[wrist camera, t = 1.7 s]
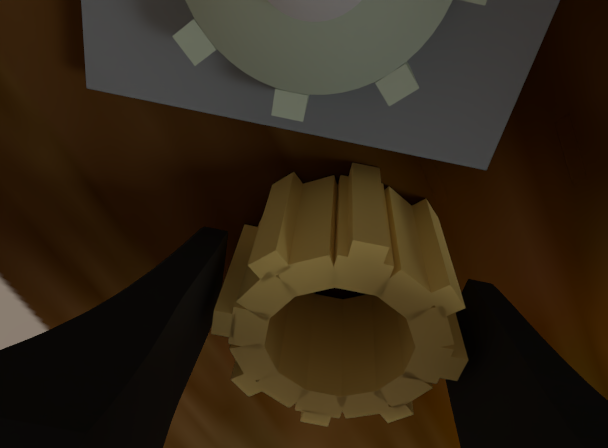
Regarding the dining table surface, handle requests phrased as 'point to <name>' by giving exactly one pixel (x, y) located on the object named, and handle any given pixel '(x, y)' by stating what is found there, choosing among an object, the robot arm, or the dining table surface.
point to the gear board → (328, 65)
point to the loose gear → (342, 300)
